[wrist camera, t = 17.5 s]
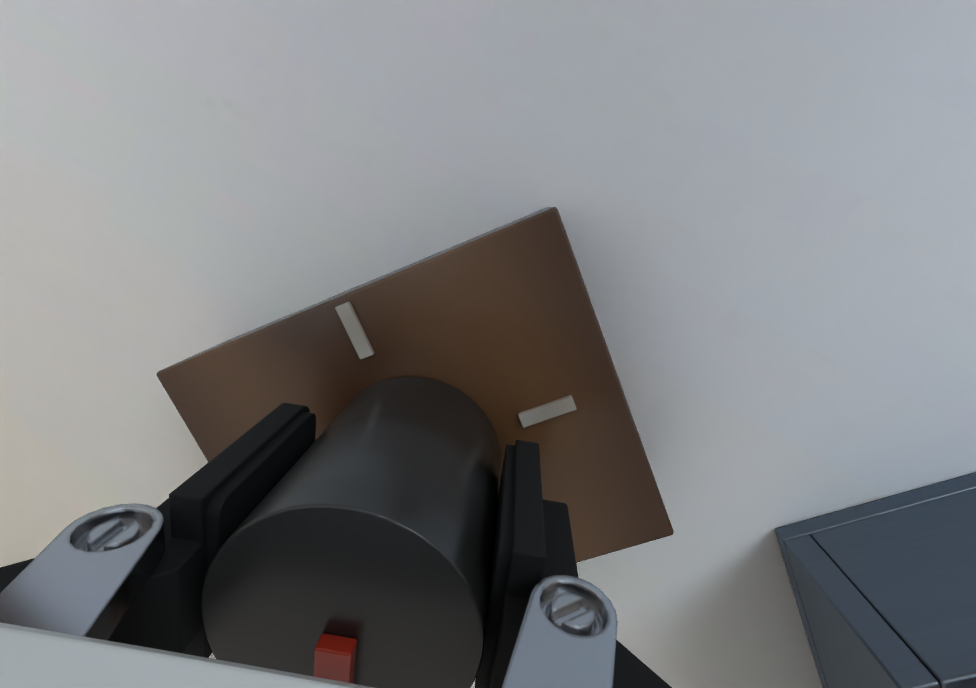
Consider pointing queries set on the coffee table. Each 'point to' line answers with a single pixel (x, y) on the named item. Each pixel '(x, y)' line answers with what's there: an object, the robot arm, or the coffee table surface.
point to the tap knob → (369, 548)
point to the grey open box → (890, 589)
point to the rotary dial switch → (457, 370)
